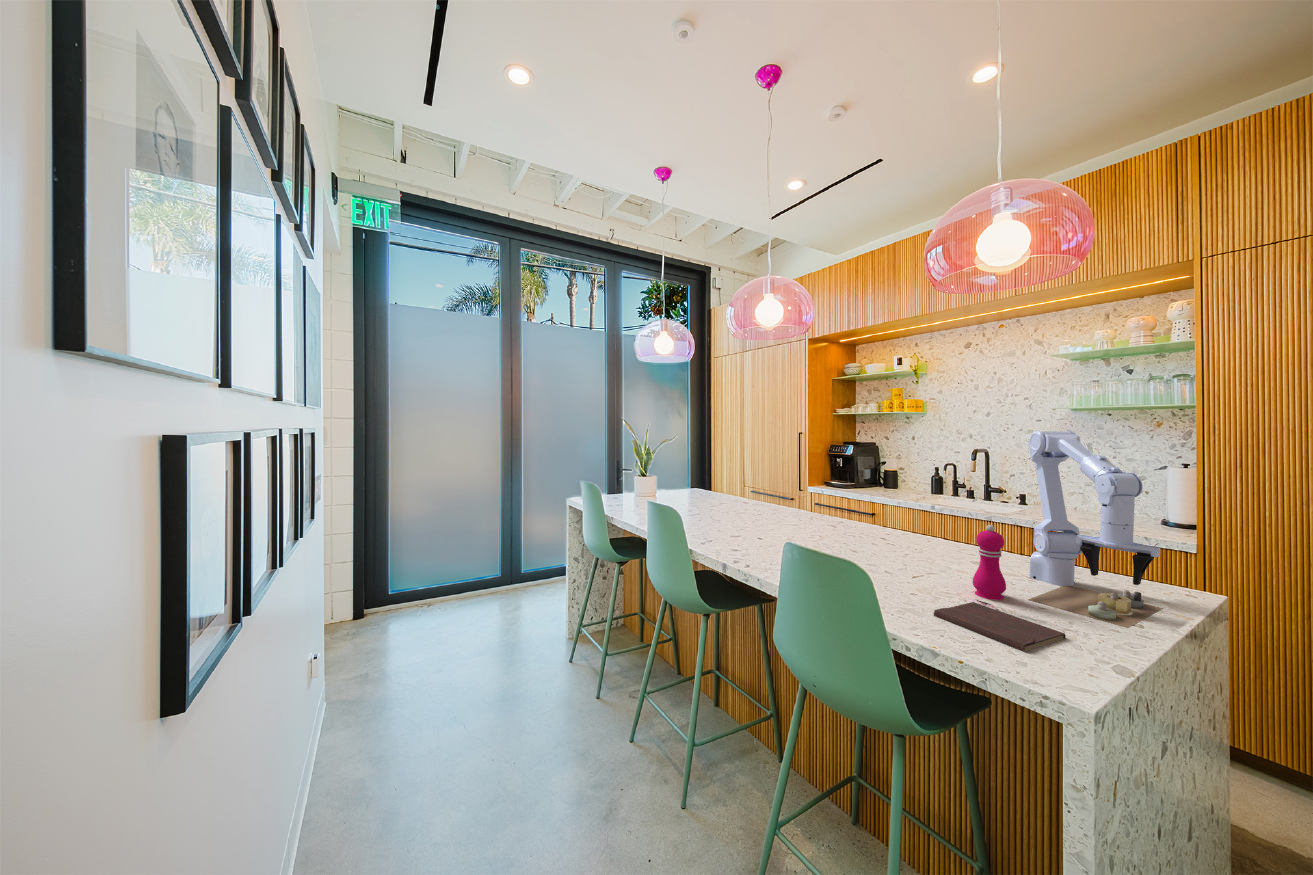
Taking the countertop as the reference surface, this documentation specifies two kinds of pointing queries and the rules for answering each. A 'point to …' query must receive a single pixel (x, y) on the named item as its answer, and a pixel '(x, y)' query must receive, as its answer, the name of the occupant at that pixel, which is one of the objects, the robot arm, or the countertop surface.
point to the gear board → (1087, 605)
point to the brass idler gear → (1116, 603)
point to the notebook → (999, 626)
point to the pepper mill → (989, 566)
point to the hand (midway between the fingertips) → (1115, 579)
